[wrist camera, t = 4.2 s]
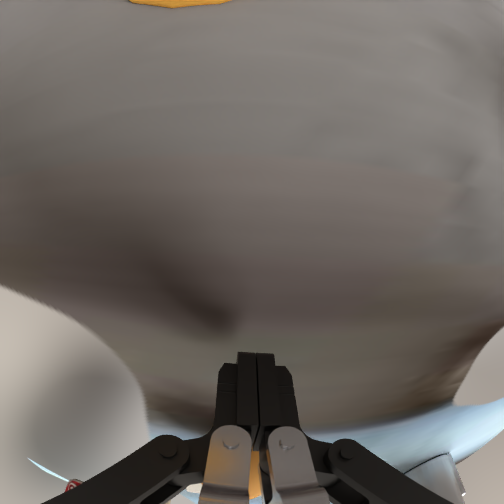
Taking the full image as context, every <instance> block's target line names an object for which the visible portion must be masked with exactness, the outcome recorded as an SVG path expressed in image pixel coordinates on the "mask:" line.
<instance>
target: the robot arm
mask: <svg viewBox="0 0 504 504" xmlns="http://www.w3.org/2000/svg"><path fill="white" fill-rule="evenodd" d="M294 394H295V393H294V387H293V381H292V375H291V374H290V372H289V371H288V370H287V368H286V367H285V366H275V358H274V354H267V353H256V355H255V353H248V352H238V354H237V362H236V364H232V363H224V365H223V366H222V367H221V369H220V370H219V374H218V385H217V397H216V409H215V422H214V426H213V428H212V430H211V431H210V432H209V433H208V434H206V435H205V436H203V437H200V438H196V439H190V440H182V439H180V438H178V437H176V436H173V435H161V436H158V437H156V438H154V439H153V440H151V441H150V442H148V443H147V444H145V445H144V446H142V447H141V448H139V449H138V450H136V451H135V452H134V453H132V454H131V455H129V456H127V457H126V458H124V459H122V460H121V461H119V462H118V463H116V464H114V465H113V466H111V467H110V468H108V469H106V470H105V471H103V472H101V473H99V474H98V475H96V476H94V477H92V478H91V479H89V480H87V481H85V482H83V483H82V484H80V485H78V486H76V487H74V488H72V489H70V490H68V491H66V492H64V493H63V494H61V495H59V496H56V497H54V498H52V499H51V500H48V501H46V502H44V503H42V504H165V503H167V502H168V501H170V500H171V499H172V498H173V497H175V496H176V495H178V494H179V493H180V492H181V491H183V490H184V489H185V488H187V487H188V486H189V485H193V484H199V483H203V485H202V488H201V491H200V496H199V501H198V504H249V491H248V489H249V475H250V461H251V452H252V448H253V451H259V463H258V474H259V482H260V489H261V496H262V504H330V502H331V503H333V504H465V503H464V500H463V497H462V496H463V495H464V494H465V489H464V486H463V484H462V481H461V478H460V476H459V473H458V471H457V468H456V466H455V463H454V461H453V458H452V456H451V454H448V455H441V456H439V457H436V458H434V459H432V460H430V461H428V462H426V463H424V464H422V465H420V466H418V467H416V468H414V469H412V470H411V471H409V472H407V473H406V474H403V473H401V472H400V471H398V470H397V469H395V468H394V467H392V466H391V465H389V464H388V463H386V462H385V461H383V460H382V459H380V458H379V457H377V456H376V455H374V454H373V453H372V452H370V451H369V450H367V449H366V448H365V447H363V446H362V445H360V444H359V443H358V442H356V441H354V440H351V439H340V440H337V441H335V442H334V443H333V444H332V443H327V442H322V441H317V440H314V439H311V438H310V437H308V436H307V435H305V434H304V432H303V431H302V430H301V428H300V424H299V418H298V412H297V406H296V400H295V396H294Z"/></svg>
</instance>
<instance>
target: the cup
mask: <svg viewBox="0 0 504 504" xmlns="http://www.w3.org/2000/svg"><path fill="white" fill-rule="evenodd" d="M129 1H131V2H132V3H138V4H147V5H154V6H161V7H167V8H177V7H185V6H195V5H208V4H221V3H224V2H227V1H230V0H129Z"/></svg>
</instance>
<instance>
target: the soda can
mask: <svg viewBox="0 0 504 504" xmlns="http://www.w3.org/2000/svg"><path fill="white" fill-rule="evenodd" d="M82 483H83V482H82V481H80V480H77V479H73V480H69V482H68V484H67V487H66V490H65V492H66V491H68V490H70V489H72V488H74V487H76V486H78V485H80V484H82Z"/></svg>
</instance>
